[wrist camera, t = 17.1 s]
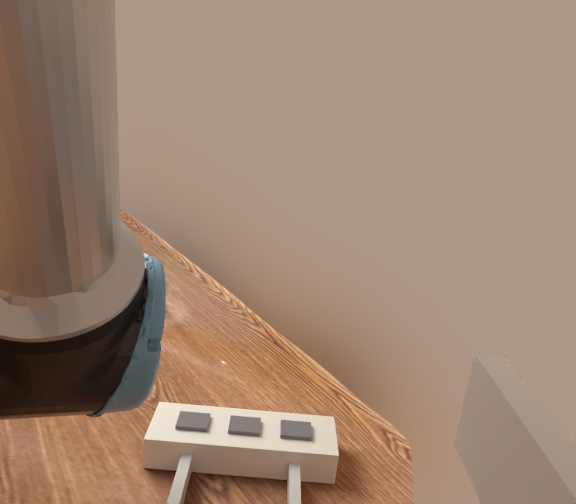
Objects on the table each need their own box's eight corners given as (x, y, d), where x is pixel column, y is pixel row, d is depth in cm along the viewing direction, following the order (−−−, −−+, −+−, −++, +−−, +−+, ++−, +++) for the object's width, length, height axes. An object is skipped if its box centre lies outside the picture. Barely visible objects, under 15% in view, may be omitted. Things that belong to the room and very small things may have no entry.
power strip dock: (108, 559, 40) (108, 521, 39) (158, 428, 55) (159, 398, 54) (345, 578, 40) (351, 541, 39) (330, 443, 56) (334, 413, 54)
